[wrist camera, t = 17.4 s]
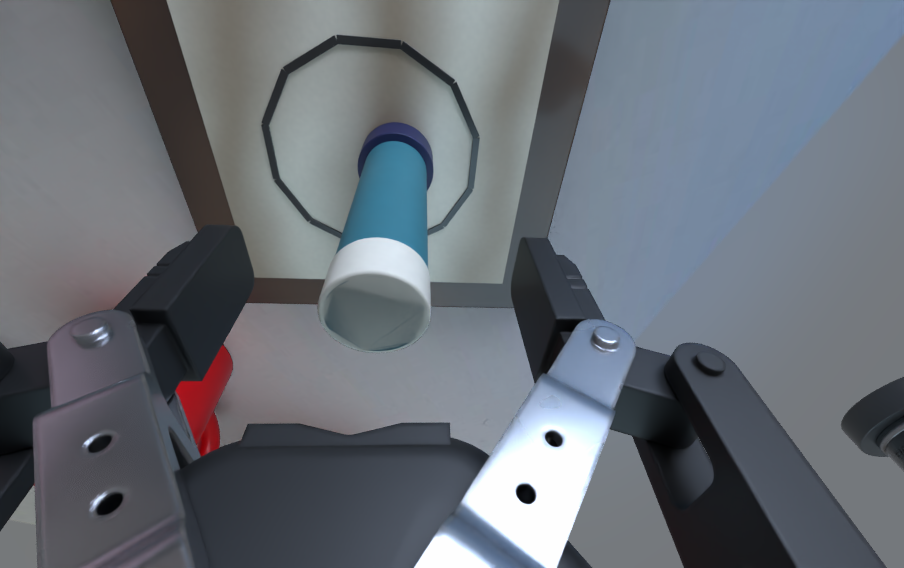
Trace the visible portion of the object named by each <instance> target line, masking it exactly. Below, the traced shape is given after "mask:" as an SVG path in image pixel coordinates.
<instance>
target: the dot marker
mask: <svg viewBox="0 0 904 568" xmlns="http://www.w3.org/2000/svg"><path fill="white" fill-rule="evenodd" d="M357 165H358V175H359V178H360V180H359V183H358V186H357V189H356V192H355V195H354V198H353V201H352V205H351V208H350V211H349V214H348V217H347V220H346V223H345V226H344V230H343V233H342V236H341V239H340V242H339V245H338V248H337V251H336V255H335V256H334V258H333V259H332V262H331V264H330V267H329V270H328V273H327V276H326V279H325V282H324V285H323V288H322V291H321V294H320V297H319V301H318V315H319V319H320V322H321V324H322V326H323V327H324V329H325V330H326V332H327V333H328V334H329V335H330V336H331V337H332V338H333V339H335V340H336V341H338V342H339V343H341V344H343V345H344V346H347V347H349V348H351V349H354V350H357V351H362V352H368V353H388V352H394V351H398V350H401V349H404V348H406V347H408V346H410V345H412V344H413V343H415V342H416V341H417V340H418V339H419V338H420V337H421V336H422V335H423V334H424V333H425V331H426V329H427V328H428V326H429V323H430V319H431V293H430V274H429V270H428V230H427V191H428V189H429V187H430V185H431V183H432V179H433V173H434V172H433V155H432V150H431V147H430V144H429V142H428V141H427V139H426V138H425V137H424V135H423V134H422V133H421V132H420V131H418V130H417V129H416V128H414V127H412V126H410V125H408V124H404V123H399V122H391V123H386V124H382V125H380V126H378V127H377V128H375V129H374V130H373V131H371V132H370V134H369V135H368V136H367V138H366V139H365V141H364V144H363V146H362V149H361V152H360V155H359V158H358V164H357Z"/></svg>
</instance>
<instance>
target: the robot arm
mask: <svg viewBox="0 0 904 568" xmlns="http://www.w3.org/2000/svg"><path fill="white" fill-rule="evenodd" d="M253 287H254V271H253V267H252V264H251V261H250V257H249V254H248V250H247V247H246V244H245V240H244V237H243V234H242V231H241V229H240V228H239V227H238V226H235V225H210V224H208V225H205V226H204V227H203V228H202V229H201V230H200V231H199V232H198V233H197V234H196V236H195V237H194V238H193V239H192V240H191V241H190V242H188V241H186V242H185V243H183V244H181V245H179V246H177V247H176V248H174V249H172V250H170V251H169V252H168V253H167V254H166V255H165V256H164V257H163V258H162V259H161V260H160V261H159V262H158V263H157V266H154V267H153V268H152V269H151V270H150V271H149V272H148V273H147V276H145V277H144V278H143V279H142V280H141V281H140V282H139V283H138V284H137V285H136V286H135V287H134V288H133V289H132V290H131V291H130V292H129V293H128V294H127V296H126V297H125V298H124V299H123V300H122V301H121V302H120V303H119V304H118V305H117V306H116V307H115V308H114V309H113V310H104V311H98V312H94V313H90V314H87V315H84V316H81V317H79V318H77V319H74V320H72V321H70V322H69V323H67V324H65V325H64V326H62V327H61V328H60V329H58V330H57V331H56V332H55V333H54V334H53V335H52V336H51V338H50V339H49V341H48V342H42V343H37V344H32V345H26V346H21V347H15V348H10V349H7V348H6V347H5V346H4V345H3V344H2V343H1V342H0V531H1V529H2V528H3V527H4V525H5V524H6V523H7V521H8V520H9V518H10V517H11V516H12V514H13V513H14V511H15V510H16V509H17V507H18V506H19V504H20V503H21V502H22V500H23V499H24V497H25V496H26V495H27V493H28V492H29V490H30V489H31V488H32V486H33V485H34V483H35V510H36V537H37V568H592V567H591V566H590V565H589V564H588V563H587V561H586V560H585V559H584V558H583V557H582V556H581V555H580V554H579V552H578V551H577V550H576V549H575V548H574V547H573V546H572V545H571V543H570V542H569V541H568V540H567V539H568V536H569V534H570V531H571V529H572V526H573V523H574V521H575V518H576V516H577V513H578V510H579V507H580V505H581V503H582V500H583V497H584V495H585V492H586V490H587V487H588V484H589V482H590V479H591V476H592V474H593V471H594V468H595V466H596V463H597V461H598V458H599V455H600V453H601V450H602V448H603V445H604V443H605V440H606V437H607V434H608V432H609V429H611V430H614V431H618V432H621V433H624V434H628V435H631V436H632V437H633V439H634V442H635V444H636V447H637V449H638V452H639V455H640V457H641V460H642V462H643V465H644V467H645V470H646V472H647V475H648V477H649V480H650V482H651V485H652V487H653V490H654V493H655V495H656V498H657V500H658V503H659V505H660V508H661V510H662V513H663V515H664V518H665V520H666V523H667V526H668V528H669V531H670V533H671V535H672V538H673V540H674V543H675V546H676V548H677V551H678V553H679V556H680V558H681V561H682V563H683V566H684V568H886V566H885V565H884V563H883V562H882V561H881V559H880V558H879V557H878V555H877V554H876V553H875V551H874V550H873V549H872V547H871V546H870V545H869V543H868V542H867V541H866V539H865V538H864V537H863V535H862V534H861V532H860V531H859V530H858V528H857V527H856V526H855V524H854V523H853V522H852V520H851V519H850V518H849V517H848V515H847V514H846V512H845V511H844V510H843V508H842V507H841V505H840V504H839V503H838V502H837V500H836V499H835V497H834V496H833V495H832V493H831V492H830V491H829V489H828V488H827V487H826V485H825V484H824V483H823V481H822V480H821V479H820V477H819V476H818V474H817V473H816V472H815V470H814V469H813V468H812V466H811V465H810V464H809V462H808V461H807V460H806V458H805V457H804V456H803V454H802V453H801V452H800V450H799V449H798V448H797V446H796V445H795V444H794V442H793V441H792V439H791V438H790V437H789V435H788V434H787V433H786V431H785V430H784V429H783V427H782V426H781V425H780V423H779V422H778V421H777V419H776V418H775V417H774V415H773V414H772V413H771V411H770V410H769V408H768V407H767V406H766V404H765V403H764V402H763V400H762V399H761V398H760V396H759V395H758V394H757V392H756V391H755V390H754V388H753V387H752V386H751V384H750V383H749V382H748V380H747V379H746V377H745V376H744V375H743V374H742V372H741V371H740V369H739V368H738V367H737V366H736V365H735V363H734V362H733V361H731V360H730V359H729V358H728V357H727V356H725V355H724V354H722V353H721V352H719V351H717V350H715V349H713V348H711V347H709V346H705V345H702V344H698V343H684V344H681V345H679V346H678V347H677V348H676V349H675V350H674V352H673V354H672V355H671V356H670V355H665V354H662V353H657V352H654V351H650V350H646V349H642V348H639V347H636V345H635V342H634V340H633V339H632V337H631V336H630V335H629V334H628V333H627V332H626V331H625V330H624V329H622V328H621V327H619V326H617V325H615V324H613V323H611V322H608V321H605V319H604V317H603V315H602V313H601V311H600V309H599V308H598V306H597V304H596V302H595V300H594V298H593V296H592V295H591V293H590V291H589V289H587V285H586V283H585V281H584V280H583V279H582V276H581V274H580V272H579V270H578V268H577V266H576V265H575V264H574V263H572V262H571V261H570V260H569V259H568V258H567V257H565V256H564V255H556V254H555V252H554V250H553V248H552V246H551V243H550V241H549V240H548V239H547V238H531V237H522V238H521V240H520V242H519V246H518V251H517V256H516V260H515V265H514V270H513V274H512V279H511V298H512V302H513V306H514V310H515V313H516V317H517V321H518V324H519V328H520V331H521V335H522V339H523V342H524V346H525V350H526V353H527V357H528V361H529V364H530V368H531V372H532V375H533V379H534V383H535V385H534V387H533V388H532V390H531V391H530V393H529V395H528V396H527V398H526V399H525V401H524V402H523V404H522V406H521V407H520V409H519V410H518V412H517V413H516V415H515V417H514V418H513V420H512V421H511V423H510V425H509V426H508V428H507V429H506V431H505V432H504V434H503V436H502V437H501V439H500V440H499V442H498V444H497V445H496V447H495V448H494V450H493V451H492V453H491V455H490V456H489V455H488V454H486V453H485V452H483V451H482V450H480V449H478V448H477V447H475V446H473V445H471V444H469V443H466V442H463V441H461V440H458V439H454V438H450V423H400V424H395V425H391V426H387V427H383V428H379V429H375V430H371V431H367V432H362V433H358V434H354V435H344V434H340V433H335V432H331V431H327V430H323V429H319V428H315V427H311V426H307V425H303V424H248V425H247V427H246V430H245V432H244V435H243V437H242V440H241V441H238V442H234V443H231V444H228V445H225V446H223V447H220V448H218V449H216V450H213V451H211V452H209V453H207V454H205V455H203V456H202V457H201V455H200V453H199V451H198V448H197V445H196V443H195V440H194V437H193V434H192V431H191V429H190V426H189V423H188V420H187V418H186V415H185V412H184V409H183V406H182V404H181V401H180V398H179V396H178V394H177V393H176V391H175V390H176V388H177V387H178V385H179V383H180V382H181V381H202V380H203V379H204V377H205V375H206V373H207V371H208V370H209V368H210V366H211V364H212V362H213V361H214V359H215V357H216V355H217V354H218V352H219V350H220V348H221V346H222V345H223V343H224V341H225V339H226V337H227V336H228V334H229V332H230V330H231V328H232V327H233V325H234V323H235V321H236V320H237V318H238V316H239V314H240V312H241V311H242V309H243V307H244V305H245V303H246V302H247V300H248V298H249V296H250V295H251V293H252V290H253ZM698 437H699V438H698ZM699 439H700V440H699ZM700 441H701V442H700ZM701 443H702V444H701ZM702 445H703V446H702ZM876 445H877V446H878V447H879V448H880V450H881V451H882V452H883V453H884V454H885V455H887V456H888V457H890V458H891V459H892V460H893V461H894V462H895V463H896V464H897V465H898V466H899V467H900V468H901V469H902V470H903V471H904V417H902V418H900V419H899V420H897V421H895V422H894V423H892V424H891V425H890V426H888V427H887V428H886V429H885V430H884V431H883V432H882V433H881V434H880V435H879V436H878V438H877V440H876ZM703 447H704V448H705V449H704V448H703ZM705 450H706V451H705ZM706 452H707V453H706ZM707 454H708V455H707ZM708 456H709V457H708ZM709 458H710V459H709Z"/></svg>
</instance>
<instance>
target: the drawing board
mask: <svg viewBox="0 0 904 568" xmlns="http://www.w3.org/2000/svg"><path fill="white" fill-rule="evenodd" d="M110 1H111V3H112V6H113V9H114V11H115V14H116V17H117V19H118V22H119V25H120V27H121V30H122V33H123V35H124V38H125V41H126V43H127V46H128V48H129V51H130V54H131V56H132V59H133V62H134V64H135V67H136V70H137V72H138V75H139V78H140V80H141V83H142V86H143V88H144V91H145V94H146V96H147V99H148V102H149V104H150V107H151V110H152V112H153V115H154V117H155V120H156V123H157V125H158V128H159V131H160V133H161V136H162V139H163V141H164V144H165V147H166V149H167V152H168V155H169V157H170V160H171V163H172V165H173V168H174V171H175V173H176V176H177V179H178V181H179V184H180V186H181V189H182V192H183V194H184V197H185V200H186V202H187V205H188V208H189V210H190V213H191V216H192V218H193V221H194V224H195V226H196V229H197V232H199V231H200V230H201V229H202V228H203V227H204V226H205V225H208V224H210V225H235V226H238V227H239V228H240V229H241V231H242V234H243V237H244V240H245V244H246V247H247V250H248V254H249V257H250V261H251V264H252V267H253V271H254V287H253V290H252V293H251V295H250V296H249V298H248V300H247V302H246V303H278V304H318V301H319V297H320V294H321V291H322V288H323V285H324V282H325V279H326V276H327V273H328V270H329V267H330V264H331V262H332V259H333V258H334V256H335V255H336V251H337V248H338V245H339V242H340V239H341V236H342V233H343V230H344V226H345V223H346V220H347V217H348V214H349V211H350V208H351V205H352V201H353V198H354V195H355V192H356V189H357V186H358V183H359V180H360V178H359V175H358V165H357V164H358V158H359V155H360V152H361V149H362V146H363V144H364V141H365V139H366V138H367V136H368V135H369V134H370V132H371V131H373V130H374V129H375V128H377V127H378V126H380V125H382V124H386V123H391V122H399V123H404V124H408V125H410V126H412V127H414V128H416V129H417V130H418V131H420V132H421V133H422V134H423V135H424V137H425V138H426V139H427V141H428V142H429V144H430V147H431V150H432V155H433V172H434V173H433V179H432V183H431V185H430V187H429V189H428V191H427V230H428V270H429V274H430V293H431V306H433V307H484V308H514V306H513V302H512V298H511V279H512V274H513V270H514V265H515V260H516V256H517V251H518V246H519V242H520V240H521V238H522V237H531V238H547V237H548V233H549V229H550V225H551V222H552V218H553V214H554V210H555V207H556V203H557V199H558V195H559V192H560V188H561V184H562V180H563V177H564V173H565V169H566V165H567V162H568V158H569V154H570V150H571V147H572V143H573V139H574V135H575V131H576V128H577V124H578V120H579V116H580V113H581V109H582V105H583V101H584V98H585V94H586V90H587V86H588V83H589V79H590V75H591V71H592V68H593V64H594V60H595V56H596V53H597V49H598V45H599V41H600V38H601V34H602V30H603V26H604V23H605V19H606V15H607V11H608V8H609V4H610V0H110Z"/></svg>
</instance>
